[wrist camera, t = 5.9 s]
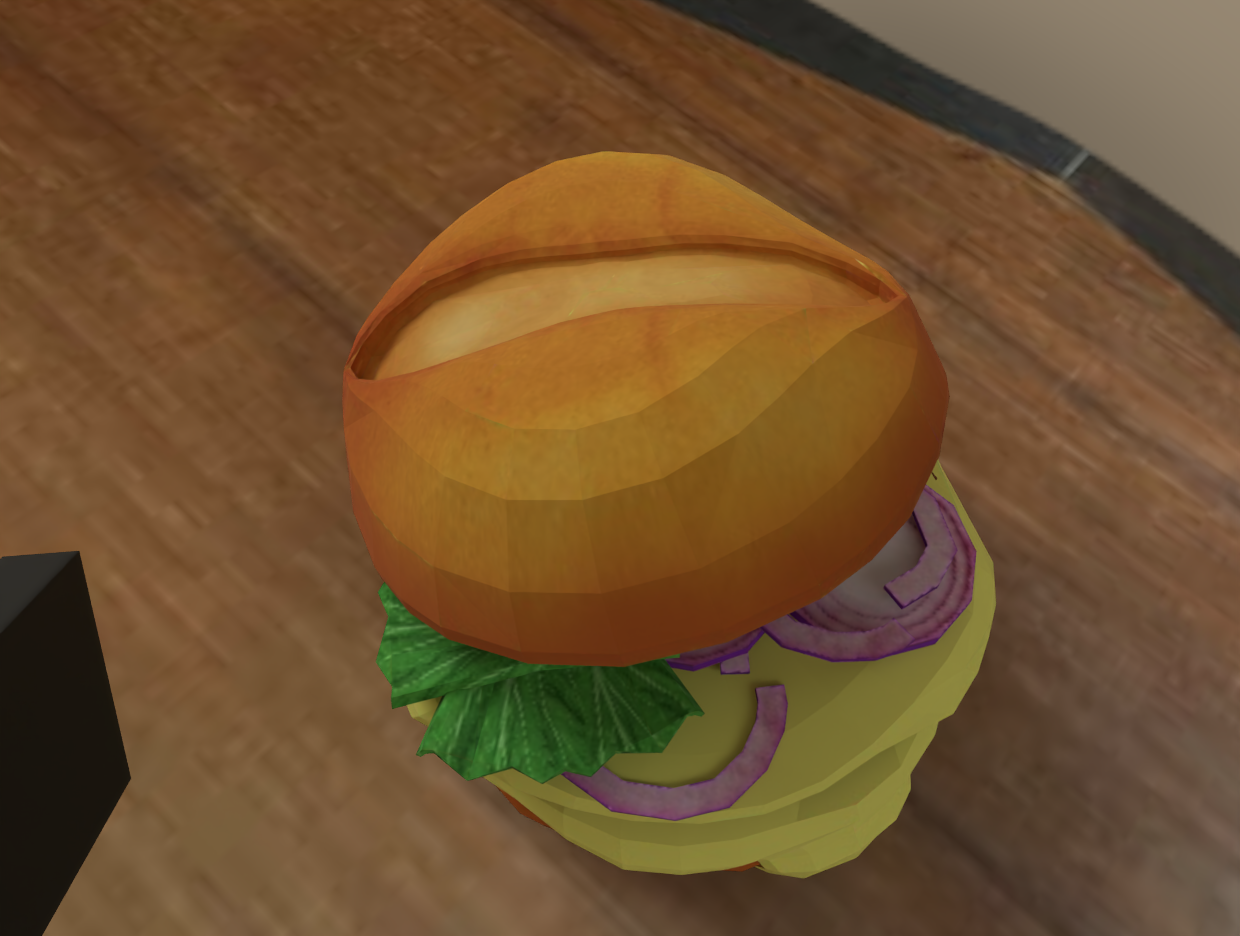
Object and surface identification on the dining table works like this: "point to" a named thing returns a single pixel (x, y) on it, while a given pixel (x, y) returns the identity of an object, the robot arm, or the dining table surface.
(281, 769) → the dining table surface
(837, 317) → the cheeseburger
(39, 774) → the robot arm
